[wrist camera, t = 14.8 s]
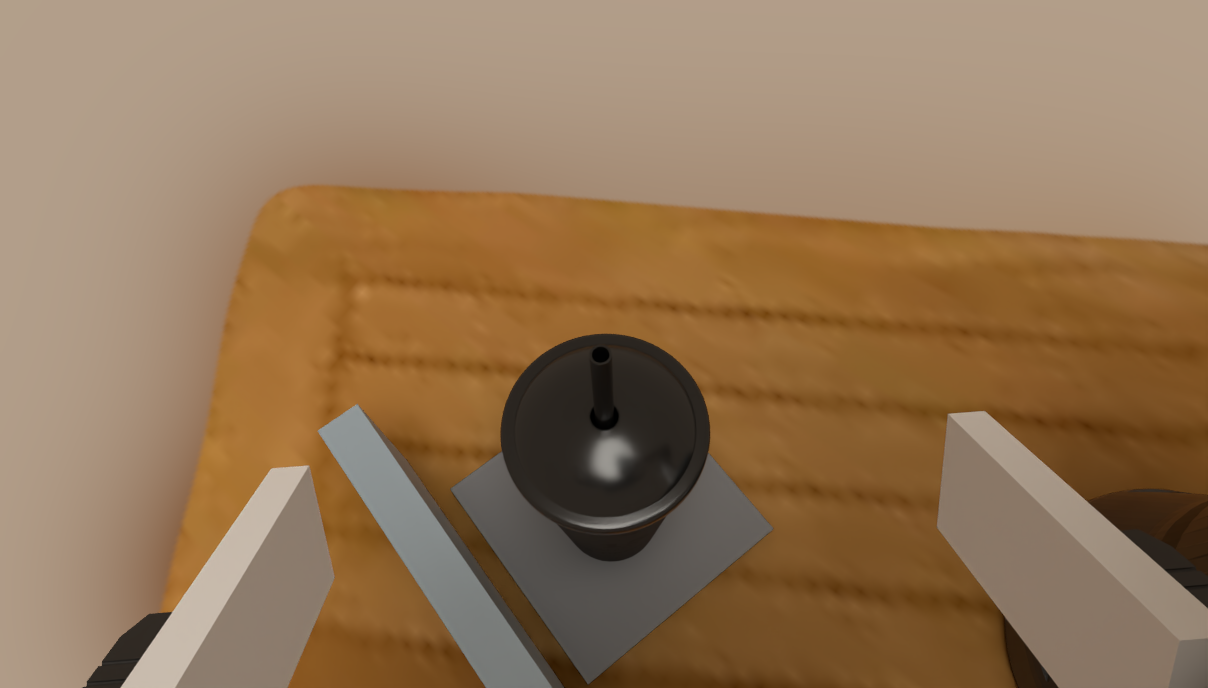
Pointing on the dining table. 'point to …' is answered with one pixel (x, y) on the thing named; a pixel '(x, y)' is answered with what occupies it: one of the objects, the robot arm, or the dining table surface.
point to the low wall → (436, 556)
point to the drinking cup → (605, 440)
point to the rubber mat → (611, 589)
